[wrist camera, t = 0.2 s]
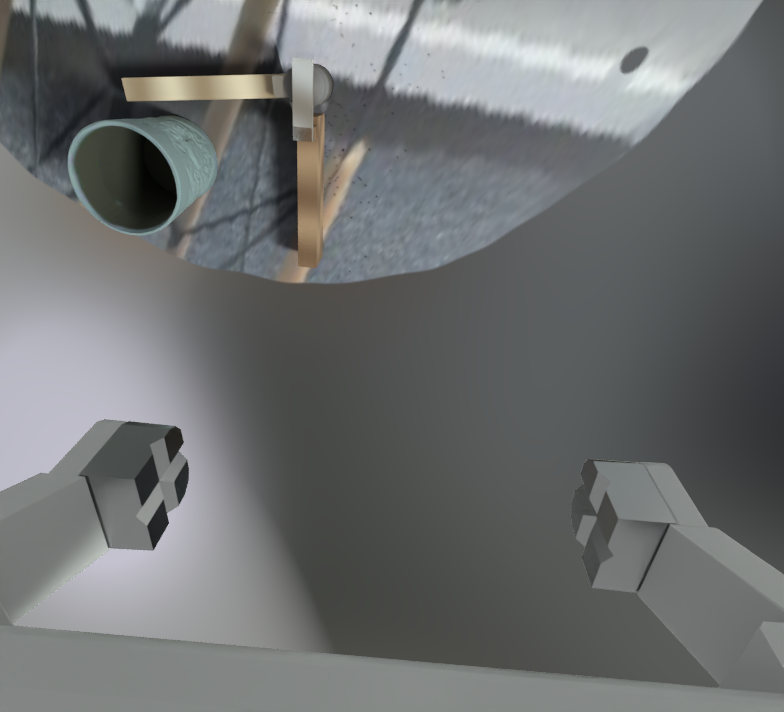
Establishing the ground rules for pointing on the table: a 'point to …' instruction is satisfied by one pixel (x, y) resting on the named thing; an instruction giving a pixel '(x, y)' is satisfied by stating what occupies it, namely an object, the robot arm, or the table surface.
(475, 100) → the table surface
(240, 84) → the base
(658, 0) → the table surface
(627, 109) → the table surface
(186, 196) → the green ceramic pot
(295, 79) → the tongs jaw
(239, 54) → the table surface
